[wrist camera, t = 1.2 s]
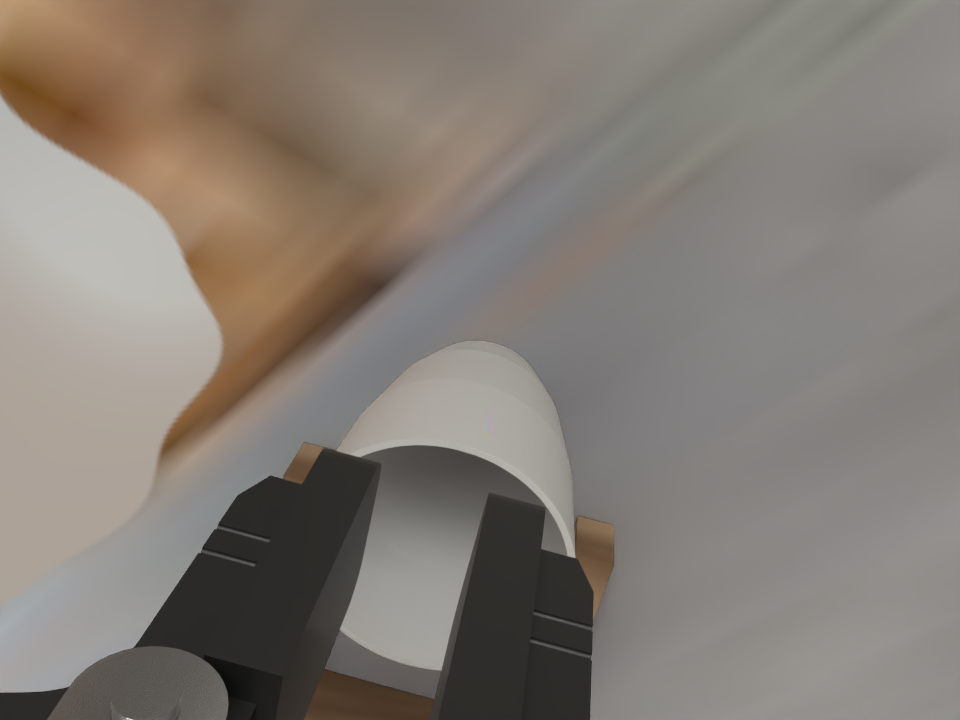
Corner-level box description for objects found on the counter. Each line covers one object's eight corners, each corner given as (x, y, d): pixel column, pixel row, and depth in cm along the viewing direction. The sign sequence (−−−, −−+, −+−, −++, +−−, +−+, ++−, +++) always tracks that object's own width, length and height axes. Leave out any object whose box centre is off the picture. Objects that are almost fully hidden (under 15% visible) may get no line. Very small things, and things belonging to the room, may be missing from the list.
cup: (338, 352, 34) (240, 498, 25) (526, 266, 32) (492, 395, 23) (440, 514, 37) (383, 699, 28) (621, 446, 34) (623, 626, 25)
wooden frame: (304, 442, 36) (274, 490, 33) (614, 525, 36) (614, 582, 33) (267, 677, 42) (238, 736, 39) (532, 750, 42) (525, 816, 39)
